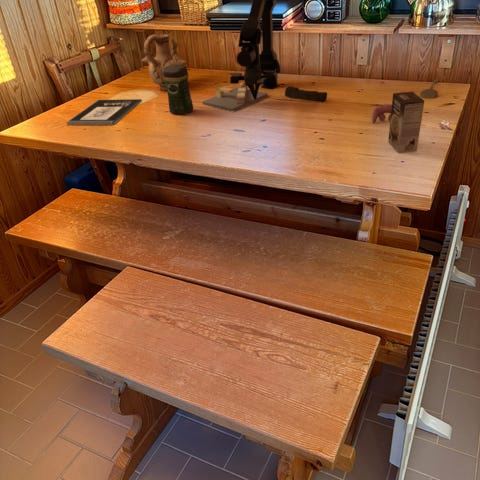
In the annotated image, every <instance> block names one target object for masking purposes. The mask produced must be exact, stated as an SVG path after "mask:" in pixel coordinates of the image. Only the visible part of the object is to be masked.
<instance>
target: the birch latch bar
mask: <svg viewBox="0 0 480 480" xmlns="http://www.w3.org/2000/svg"><path fill="white" fill-rule="evenodd" d="M237 87H238V93H237V103H245V97H246V91H247V89H248V86H247V85H245V86H240V84H239V85H238V86H237Z"/></svg>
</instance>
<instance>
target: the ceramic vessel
mask: <svg viewBox="0 0 480 480" xmlns="http://www.w3.org/2000/svg"><path fill="white" fill-rule="evenodd" d="M153 41H154V43H155V49H156V54H155V55H154V54H153V52H151V50H150V49H151V45H152V43H153ZM178 46H179V43H178V41H175V40H174V39H173V38H171V48H170V35H169V34H165V33H164V34H163V33H162V34H150V35H149V36H148V37H147V38H146V39H145V42H144V44H143V52H144V54H145V57H144V58H142V59H141V62H142V63H145V64H148V73H149V76H150V79H151V81H152V82H153V83H154V84H156V85H158V86H159V89H160V90H162V91H167V86H166V82H165V80H164V76H163V69H164V68H165V67H167V66H186V65H187V61H186V60H184V59H183V58H182V55H180V53H179V52H178Z"/></svg>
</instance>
